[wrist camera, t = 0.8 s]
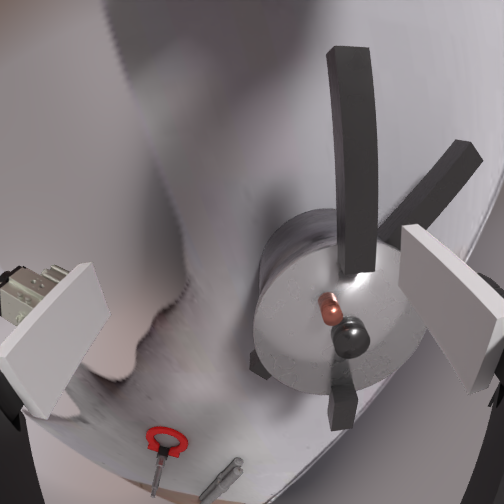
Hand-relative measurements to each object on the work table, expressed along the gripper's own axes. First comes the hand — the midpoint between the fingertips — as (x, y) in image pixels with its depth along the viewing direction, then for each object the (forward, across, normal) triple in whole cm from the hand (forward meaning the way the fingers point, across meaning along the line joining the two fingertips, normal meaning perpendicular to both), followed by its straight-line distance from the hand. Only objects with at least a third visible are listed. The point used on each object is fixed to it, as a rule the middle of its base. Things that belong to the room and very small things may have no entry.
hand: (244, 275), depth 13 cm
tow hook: (+23, -24, -47) cm, 57 cm away
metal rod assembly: (+23, -16, -64) cm, 70 cm away
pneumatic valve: (+24, -29, -10) cm, 39 cm away
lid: (+13, +7, -7) cm, 16 cm away
